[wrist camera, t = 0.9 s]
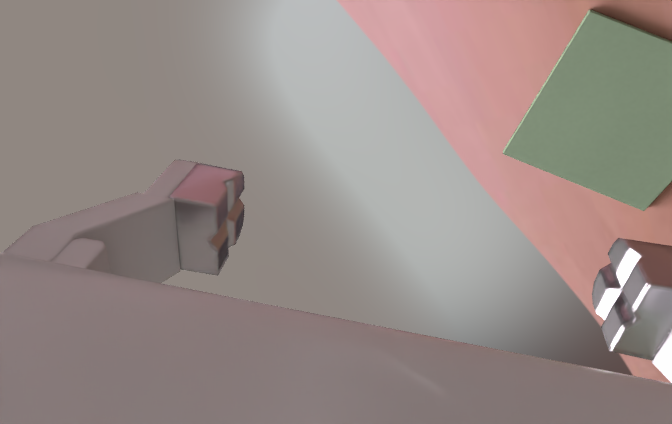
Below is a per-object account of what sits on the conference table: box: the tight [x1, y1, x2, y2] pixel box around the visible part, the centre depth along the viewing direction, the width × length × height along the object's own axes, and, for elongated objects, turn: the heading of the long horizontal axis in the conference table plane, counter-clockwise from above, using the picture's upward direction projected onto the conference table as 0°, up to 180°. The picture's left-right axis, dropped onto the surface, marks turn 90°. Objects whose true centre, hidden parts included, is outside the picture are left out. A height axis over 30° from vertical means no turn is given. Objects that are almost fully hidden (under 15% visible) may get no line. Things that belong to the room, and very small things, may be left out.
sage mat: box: [503, 9, 672, 211], centre depth 47 cm, size 15×15×1 cm
